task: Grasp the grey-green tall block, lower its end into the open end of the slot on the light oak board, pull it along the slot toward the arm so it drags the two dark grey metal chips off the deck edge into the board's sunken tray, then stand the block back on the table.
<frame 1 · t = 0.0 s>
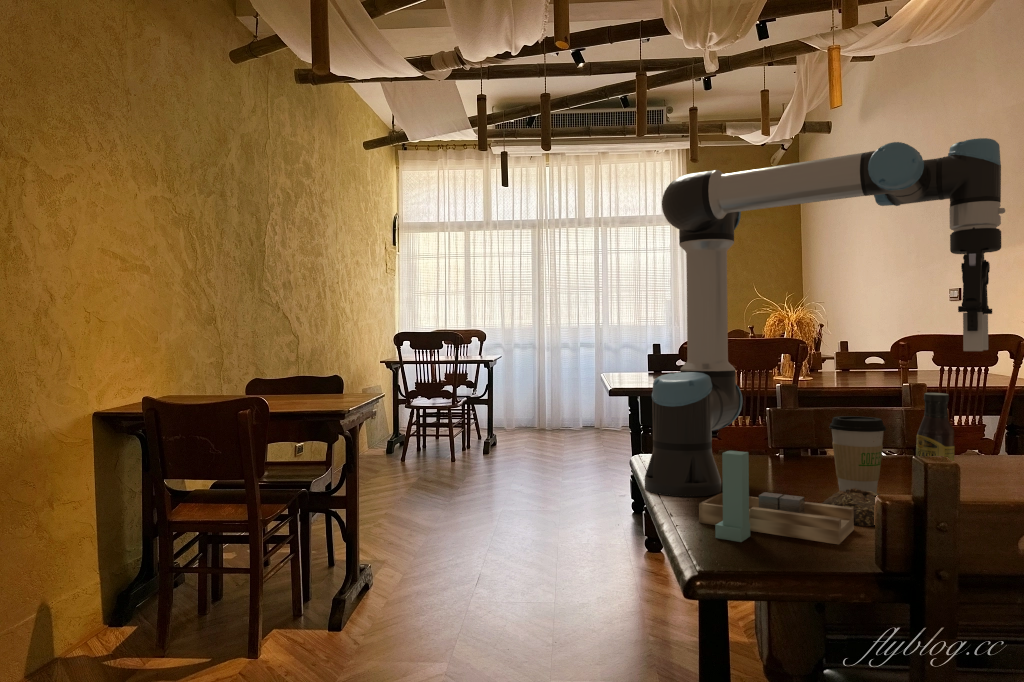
hand: (976, 350, 123), 28 cm above the table, fingers open, 13 cm apart
chip far: (792, 506, 112), point 3 cm above the table, touching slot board
bread roll: (857, 519, 120), on the table
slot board: (776, 526, 113), on the table
coffee cup: (857, 497, 134), on the table
sauce bottle: (935, 499, 133), on the table
grey-green tall block: (736, 537, 107), on the table
chip 1: (771, 504, 114), point 3 cm above the table, touching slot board
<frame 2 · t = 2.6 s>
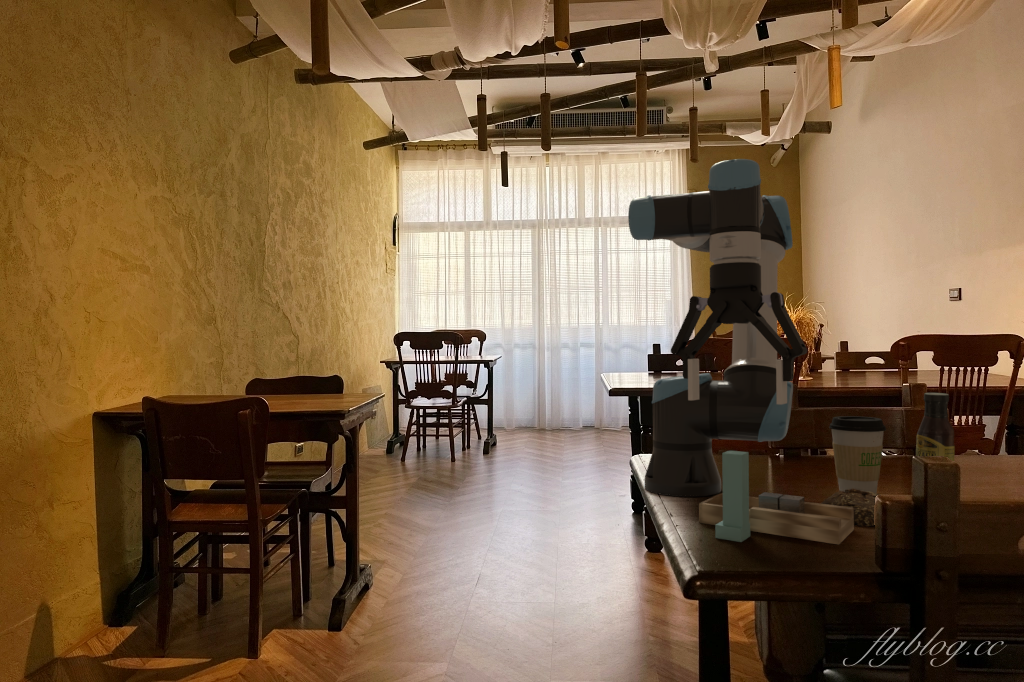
hand: (736, 402, 107), 21 cm above the table, fingers open, 13 cm apart
nothing on the table moved.
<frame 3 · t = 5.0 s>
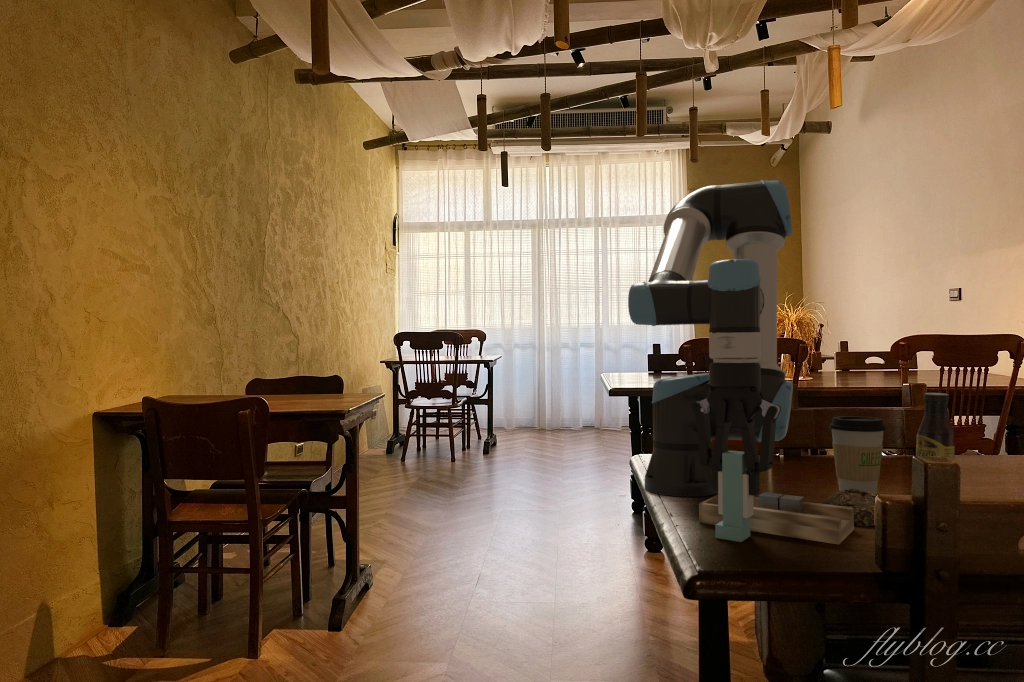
hand: (735, 514, 107), 4 cm above the table, fingers closed on grey-green tall block, 3 cm apart
grey-green tall block: (736, 537, 107), on the table, touching gripper
everything else where it was.
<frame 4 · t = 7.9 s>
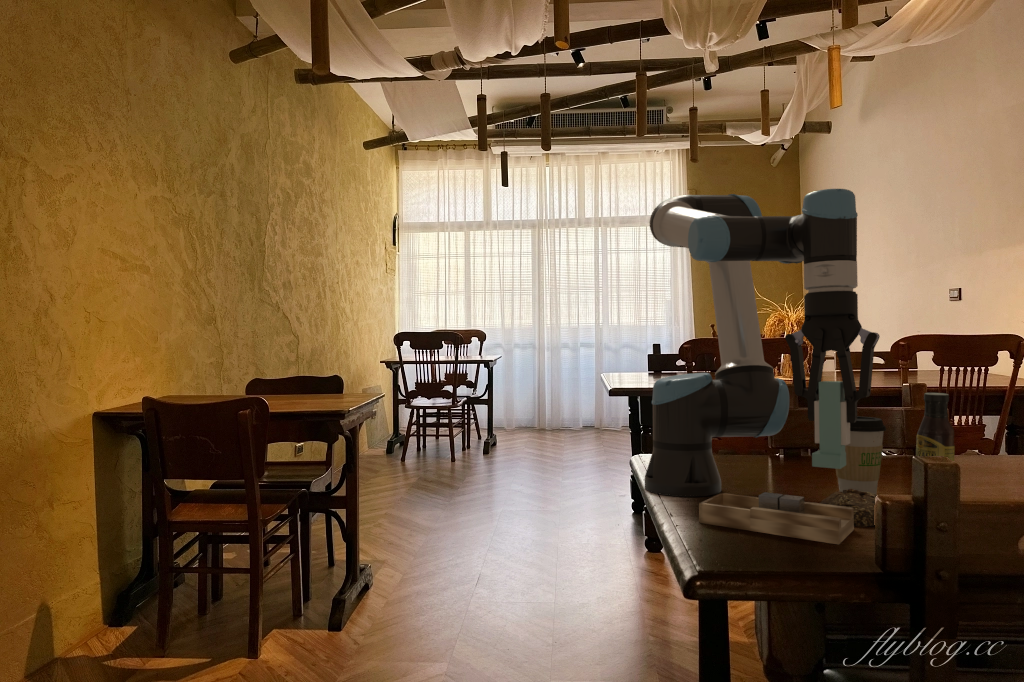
hand: (832, 442, 108), 14 cm above the table, fingers closed on grey-green tall block, 3 cm apart
grey-green tall block: (832, 466, 108), point 11 cm above the table, touching gripper
everything else where it was.
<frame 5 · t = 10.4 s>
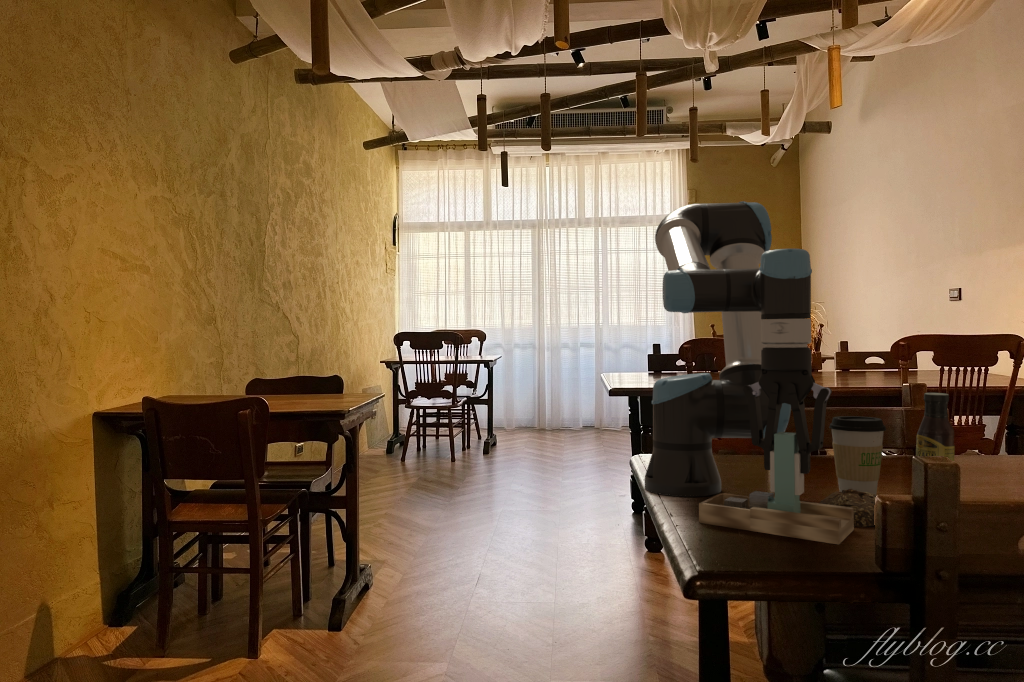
hand: (787, 491, 113), 6 cm above the table, fingers closed on grey-green tall block, 3 cm apart
chip far: (761, 502, 115), point 4 cm above the table, touching grey-green tall block
grey-green tall block: (787, 514, 113), point 2 cm above the table, touching chip far, gripper
chip 1: (736, 508, 117), point 2 cm above the table, tilted 90°, touching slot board
everything else where it was.
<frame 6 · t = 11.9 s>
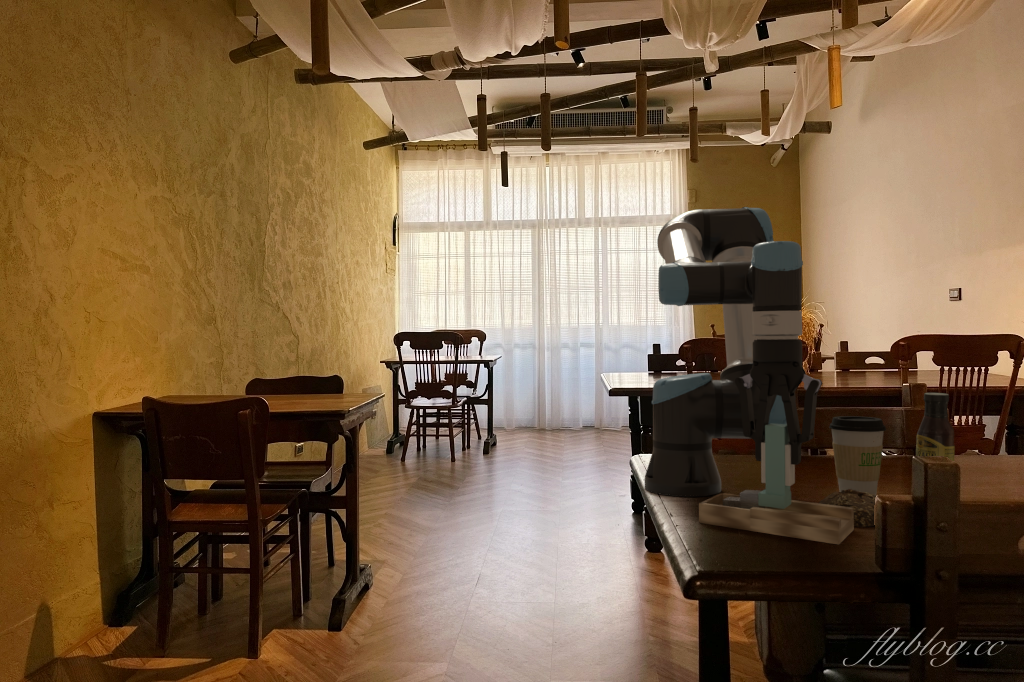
hand: (778, 482, 114), 7 cm above the table, fingers closed on grey-green tall block, 3 cm apart
chip far: (752, 501, 116), point 4 cm above the table, touching chip 1
grey-green tall block: (778, 505, 113), point 3 cm above the table, touching gripper
chip 1: (735, 507, 117), point 2 cm above the table, tilted 94°, touching chip far, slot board
when the fingers open (5 cm above the table, at t = 16.0 s): grey-green tall block drops 1 cm, on the table.
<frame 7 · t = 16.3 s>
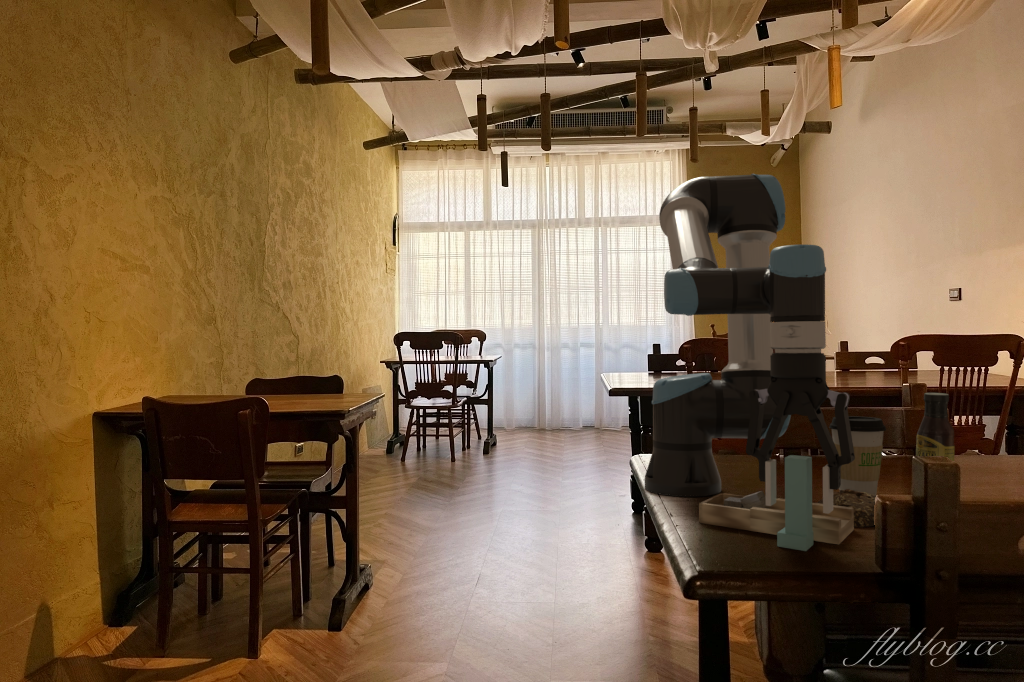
hand: (799, 507, 103), 6 cm above the table, fingers open, 7 cm apart
chip far: (755, 503, 115), point 3 cm above the table, tilted 24°, touching chip 1, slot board
grey-green tall block: (799, 546, 103), on the table
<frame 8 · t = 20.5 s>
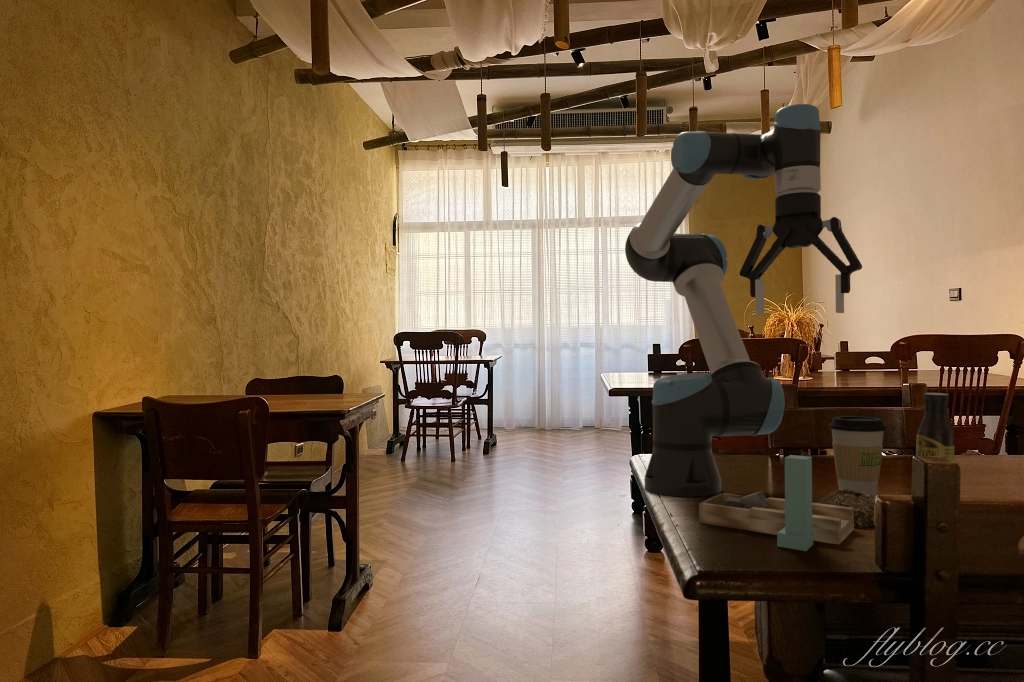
hand: (798, 314, 125), 35 cm above the table, fingers open, 13 cm apart
at the end: chip 1 inside the target area (0.5 cm from its centre), point 2.0 cm above the table; chip far inside the target area (3.8 cm from its centre), point 3.3 cm above the table; grey-green tall block tilted 0° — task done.
